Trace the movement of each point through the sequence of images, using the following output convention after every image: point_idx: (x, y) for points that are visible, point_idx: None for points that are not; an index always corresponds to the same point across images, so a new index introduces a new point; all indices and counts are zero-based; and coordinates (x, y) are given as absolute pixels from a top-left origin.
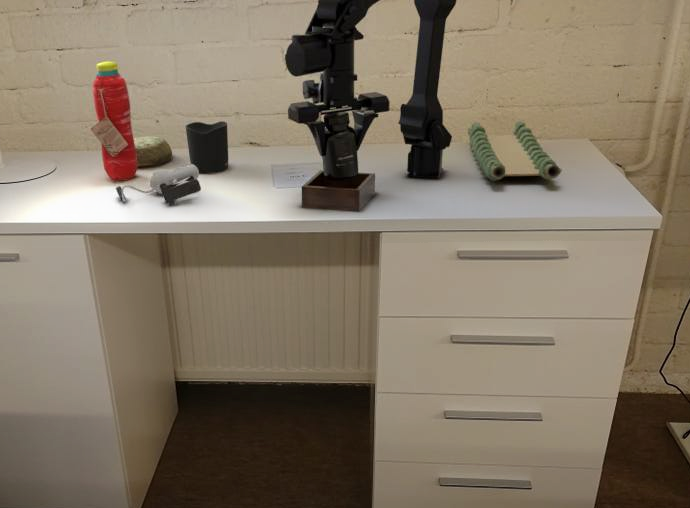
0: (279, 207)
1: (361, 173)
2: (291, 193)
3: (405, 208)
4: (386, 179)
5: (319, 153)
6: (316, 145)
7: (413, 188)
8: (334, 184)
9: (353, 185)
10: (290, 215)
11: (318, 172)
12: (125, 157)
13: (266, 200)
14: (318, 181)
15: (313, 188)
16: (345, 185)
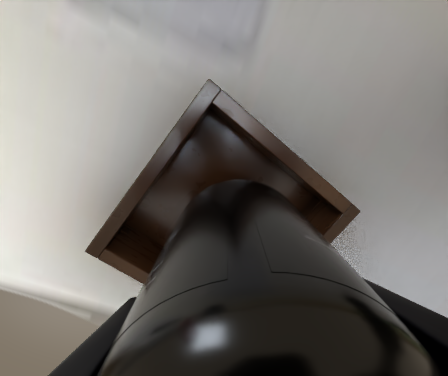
0: (51, 200)
1: (324, 194)
2: (110, 84)
3: None
4: (420, 84)
5: (124, 305)
6: (80, 345)
7: (421, 194)
8: (242, 134)
9: (287, 172)
10: (72, 267)
11: (192, 108)
12: None
13: (17, 120)
14: (182, 144)
15: (123, 271)
16: (268, 156)
